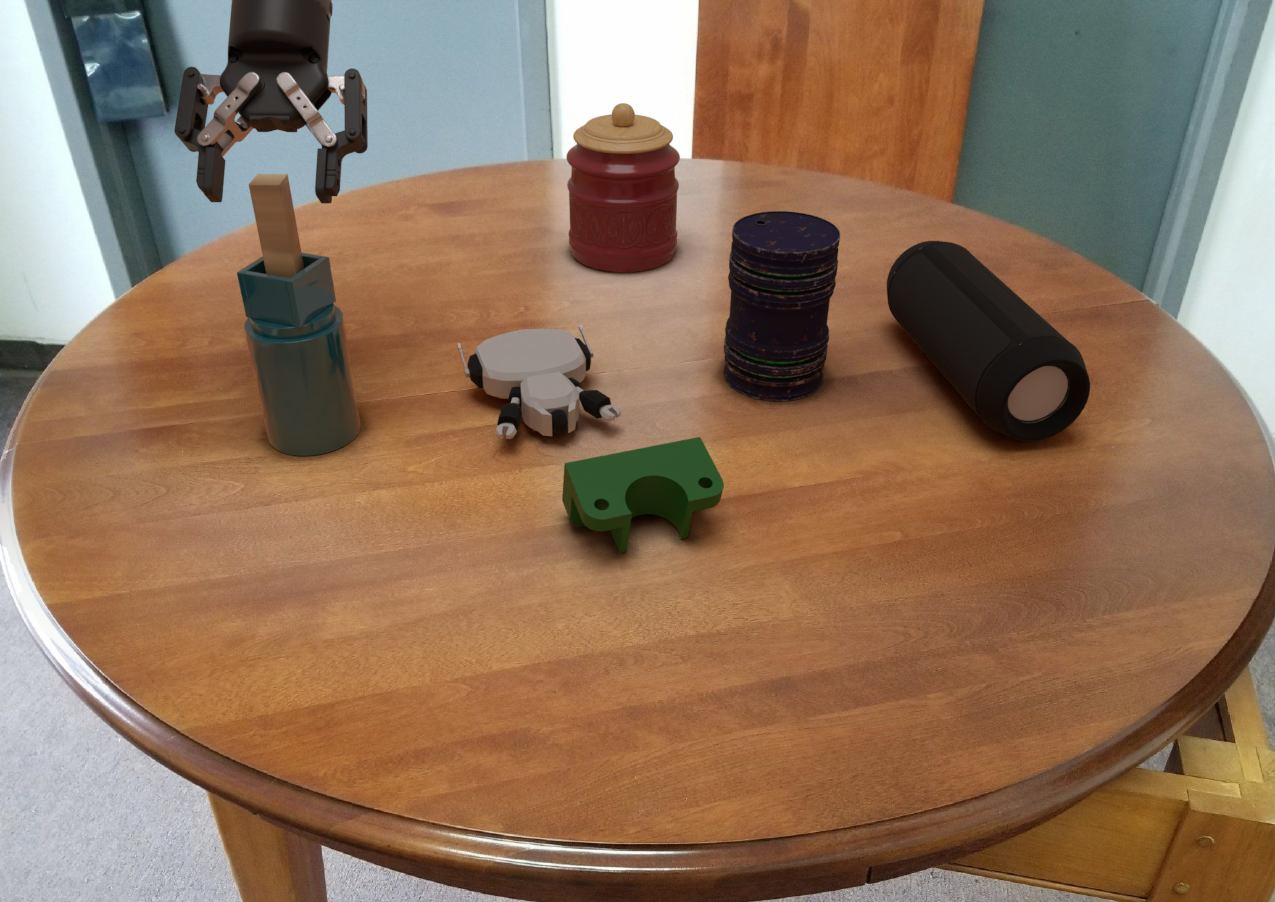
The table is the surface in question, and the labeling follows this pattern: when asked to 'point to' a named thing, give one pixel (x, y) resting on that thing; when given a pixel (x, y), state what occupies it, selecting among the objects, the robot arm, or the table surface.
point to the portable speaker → (987, 342)
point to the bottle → (300, 357)
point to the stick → (276, 224)
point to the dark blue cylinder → (779, 304)
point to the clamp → (641, 487)
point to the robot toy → (537, 380)
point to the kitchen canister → (623, 192)
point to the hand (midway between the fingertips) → (268, 199)
